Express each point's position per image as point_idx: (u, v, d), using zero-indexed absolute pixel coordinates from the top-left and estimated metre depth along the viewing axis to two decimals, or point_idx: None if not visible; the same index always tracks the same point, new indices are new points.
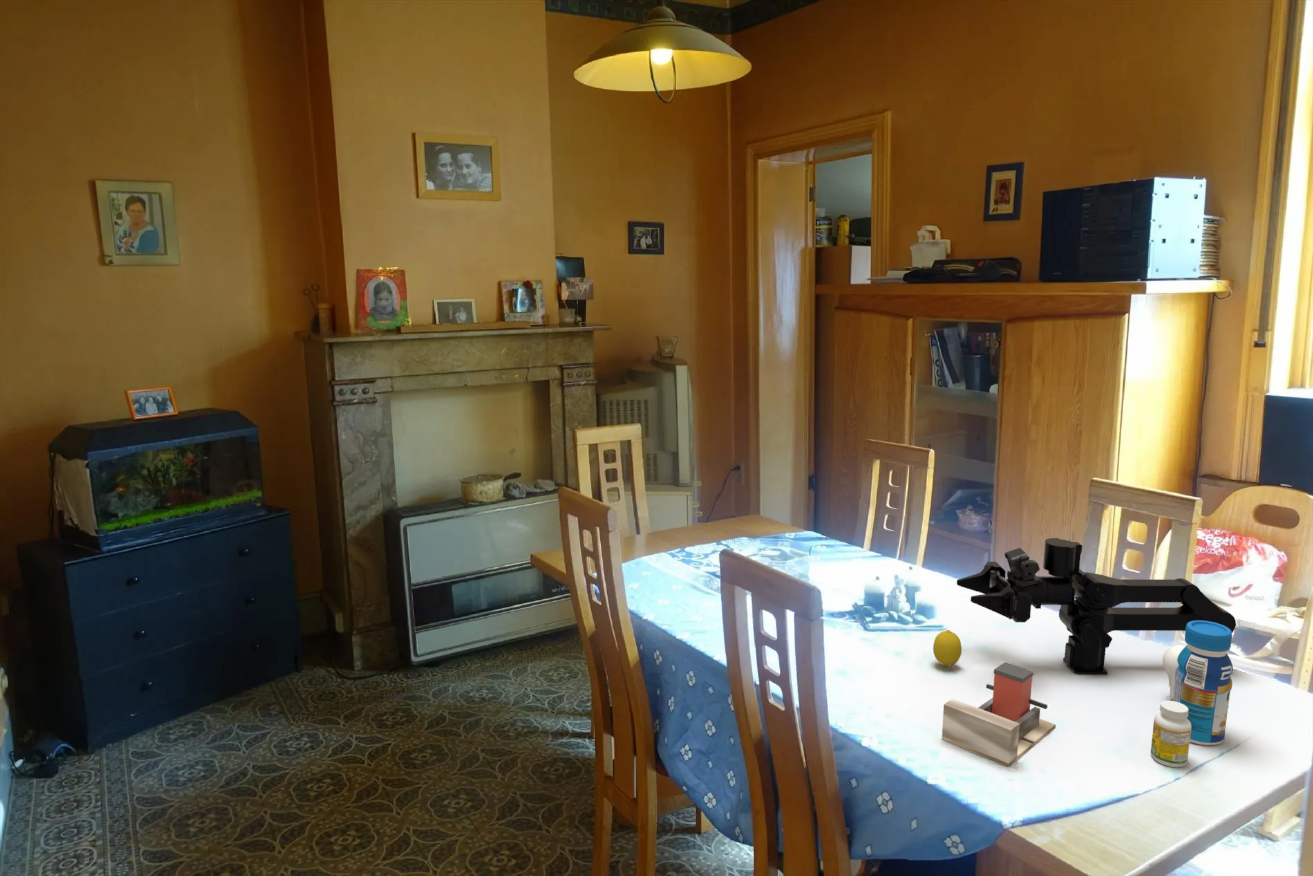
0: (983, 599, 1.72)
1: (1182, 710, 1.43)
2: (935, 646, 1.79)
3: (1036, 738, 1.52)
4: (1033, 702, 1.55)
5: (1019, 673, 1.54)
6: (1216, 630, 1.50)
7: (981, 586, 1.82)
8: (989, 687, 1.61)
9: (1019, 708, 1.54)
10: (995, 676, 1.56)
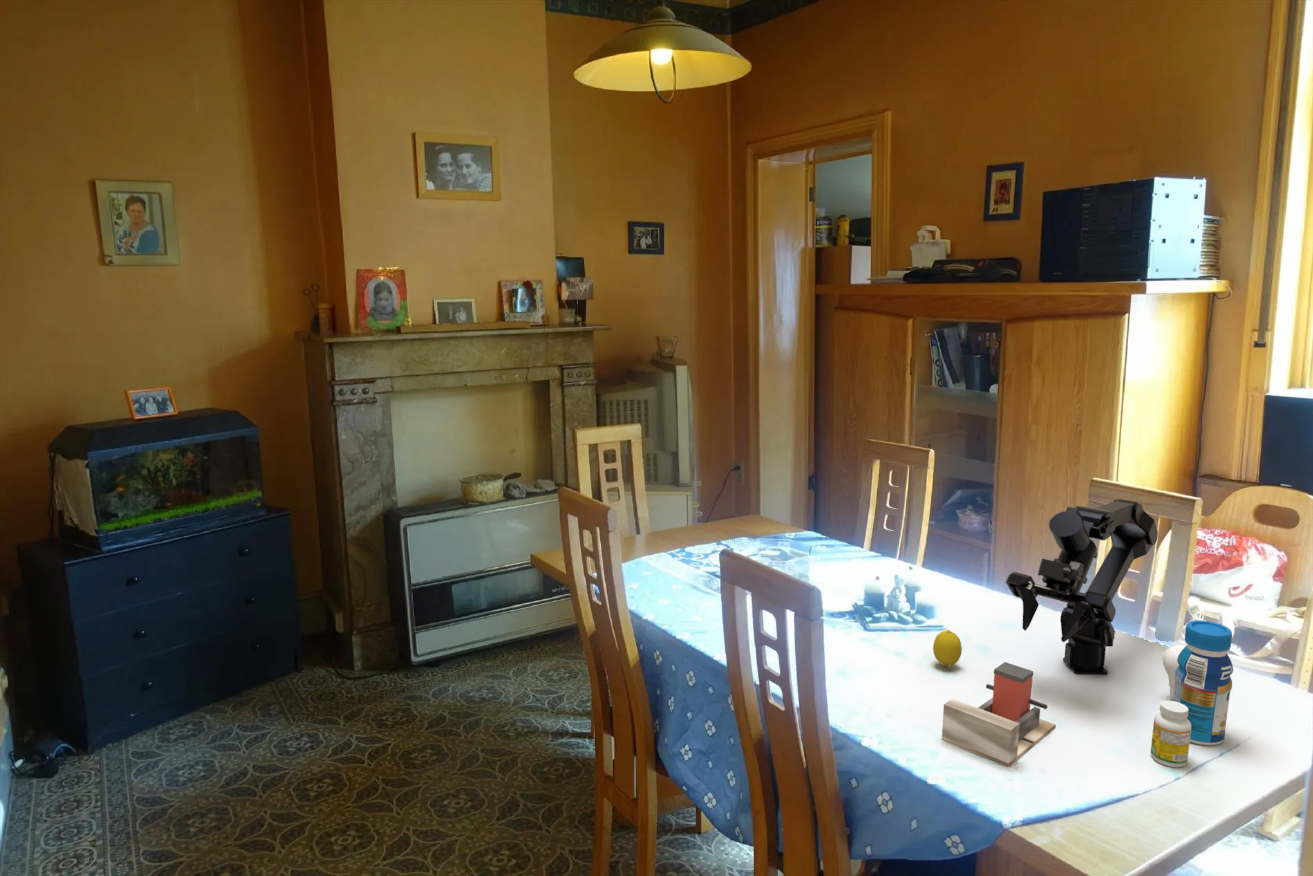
0: (1070, 631, 1.60)
1: (1182, 710, 1.43)
2: (935, 646, 1.79)
3: (1036, 738, 1.52)
4: (1033, 702, 1.55)
5: (1019, 673, 1.54)
6: (1216, 630, 1.50)
7: (1033, 608, 1.68)
8: (989, 687, 1.61)
9: (1019, 708, 1.54)
10: (995, 676, 1.56)
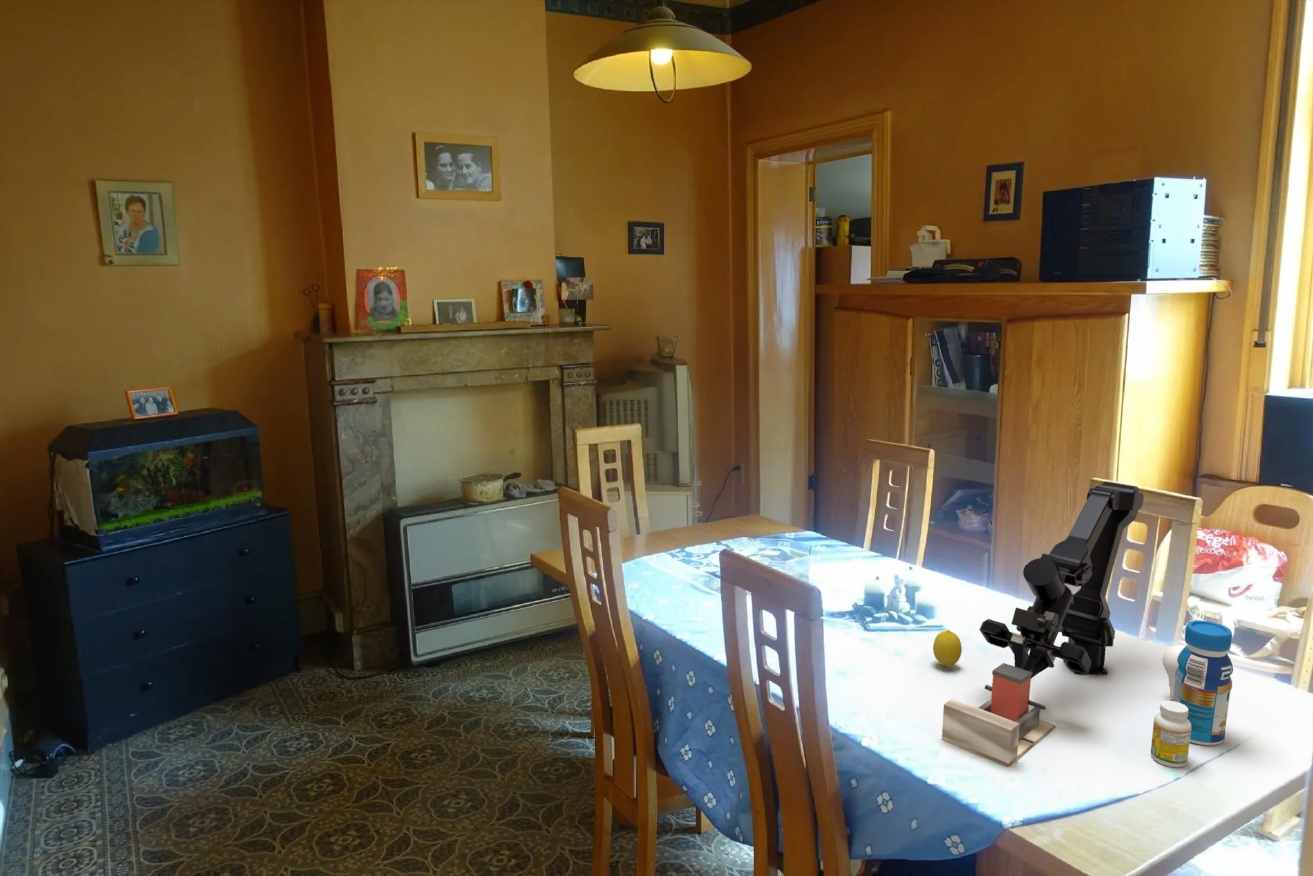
0: None
1: (1182, 710, 1.43)
2: (935, 646, 1.79)
3: (1036, 738, 1.52)
4: (1032, 703, 1.55)
5: (1017, 674, 1.54)
6: (1216, 630, 1.50)
7: (1025, 663, 1.60)
8: (988, 688, 1.61)
9: (1017, 709, 1.53)
10: (993, 677, 1.56)
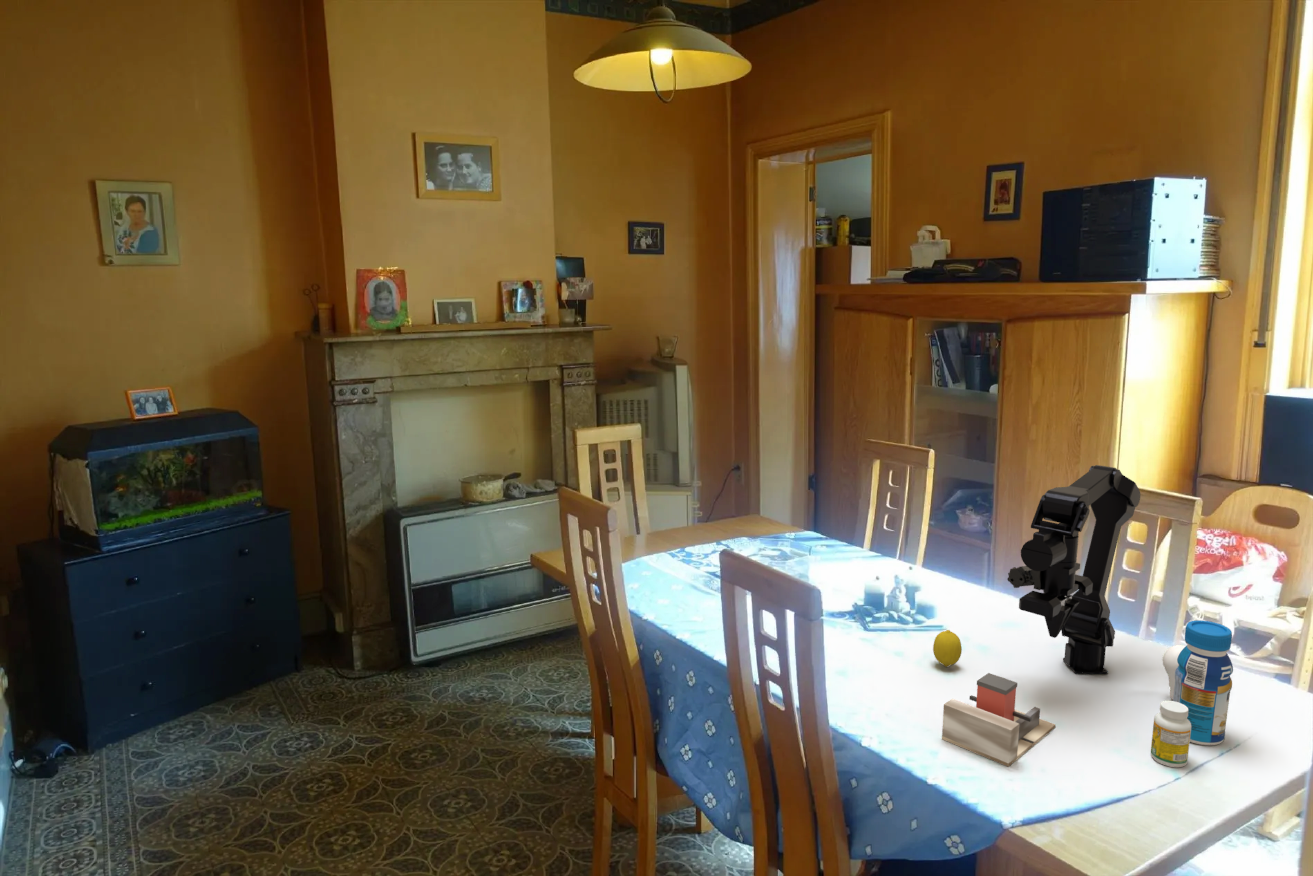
0: (1051, 626, 1.65)
1: (1182, 710, 1.43)
2: (935, 646, 1.79)
3: (1036, 738, 1.52)
4: (1017, 714, 1.51)
5: (1002, 685, 1.50)
6: (1216, 630, 1.50)
7: None
8: (972, 698, 1.57)
9: None
10: (978, 687, 1.52)
